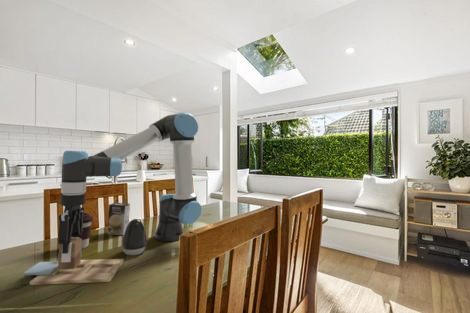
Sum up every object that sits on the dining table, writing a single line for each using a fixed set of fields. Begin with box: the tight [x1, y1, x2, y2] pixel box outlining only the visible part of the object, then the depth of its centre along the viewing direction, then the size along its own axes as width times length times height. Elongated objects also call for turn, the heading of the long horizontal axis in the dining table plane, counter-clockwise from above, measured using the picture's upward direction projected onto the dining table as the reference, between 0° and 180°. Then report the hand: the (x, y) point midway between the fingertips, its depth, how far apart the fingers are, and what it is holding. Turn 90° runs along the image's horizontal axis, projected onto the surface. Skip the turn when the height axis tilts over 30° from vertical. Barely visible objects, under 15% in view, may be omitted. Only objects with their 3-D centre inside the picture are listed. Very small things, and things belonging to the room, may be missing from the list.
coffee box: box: [106, 202, 131, 236], centre depth 133 cm, size 9×6×16 cm
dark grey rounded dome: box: [121, 218, 148, 256], centre depth 107 cm, size 10×10×15 cm
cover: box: [22, 254, 59, 276], centre depth 88 cm, size 8×12×3 cm, turn 10°
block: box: [58, 238, 82, 269], centre depth 87 cm, size 5×5×9 cm
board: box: [29, 258, 125, 286], centre depth 88 cm, size 24×16×2 cm, turn 100°
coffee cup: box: [69, 212, 94, 250], centre depth 112 cm, size 10×10×15 cm
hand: (70, 258), depth 87 cm, fingers closed on block, 5 cm apart
